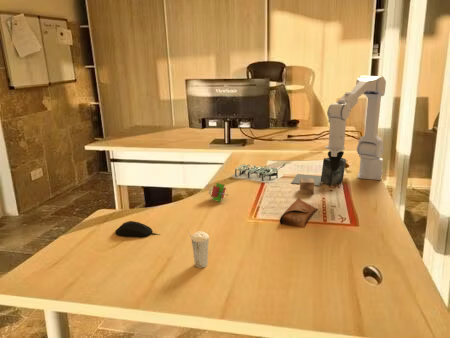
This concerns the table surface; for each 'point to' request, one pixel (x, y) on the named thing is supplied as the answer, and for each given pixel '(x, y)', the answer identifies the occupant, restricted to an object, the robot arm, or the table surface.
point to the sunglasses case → (297, 214)
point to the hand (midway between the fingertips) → (334, 170)
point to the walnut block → (306, 186)
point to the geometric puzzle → (217, 192)
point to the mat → (316, 178)
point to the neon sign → (257, 173)
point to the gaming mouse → (134, 230)
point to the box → (332, 172)
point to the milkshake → (200, 248)
